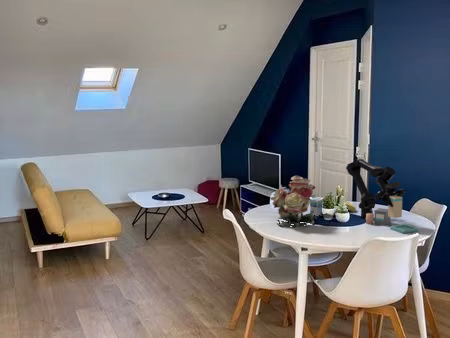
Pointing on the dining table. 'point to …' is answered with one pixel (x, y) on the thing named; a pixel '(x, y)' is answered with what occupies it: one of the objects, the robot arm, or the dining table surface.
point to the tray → (404, 228)
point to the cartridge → (369, 218)
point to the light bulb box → (316, 206)
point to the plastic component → (350, 206)
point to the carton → (395, 207)
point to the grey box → (381, 216)
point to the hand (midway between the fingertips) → (396, 206)
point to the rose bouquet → (294, 202)
